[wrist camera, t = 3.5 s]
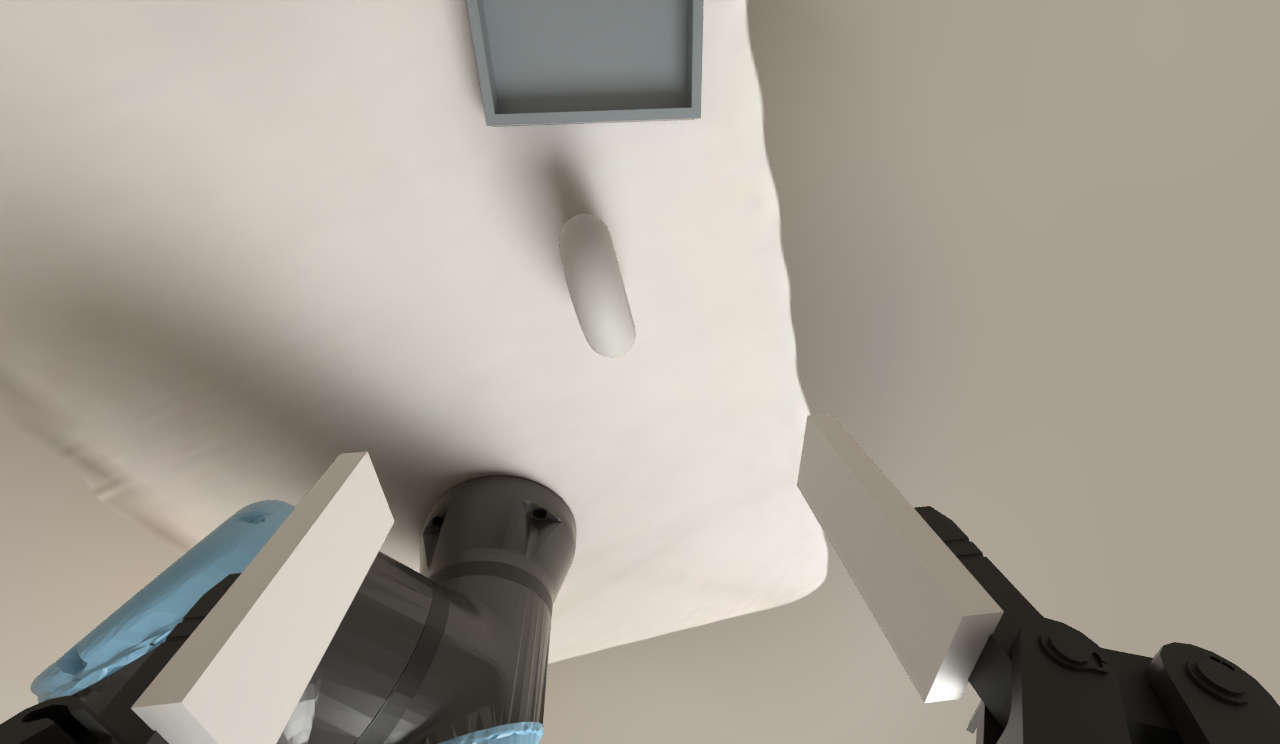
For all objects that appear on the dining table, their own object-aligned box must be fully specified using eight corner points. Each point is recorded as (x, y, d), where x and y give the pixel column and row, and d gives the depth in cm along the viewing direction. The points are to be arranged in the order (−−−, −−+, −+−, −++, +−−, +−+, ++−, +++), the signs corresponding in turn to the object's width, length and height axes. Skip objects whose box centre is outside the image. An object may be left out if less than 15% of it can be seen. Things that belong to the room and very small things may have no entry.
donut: (635, 321, 38) (646, 376, 29) (595, 331, 38) (595, 389, 29) (602, 198, 33) (604, 219, 25) (557, 210, 34) (543, 235, 25)
